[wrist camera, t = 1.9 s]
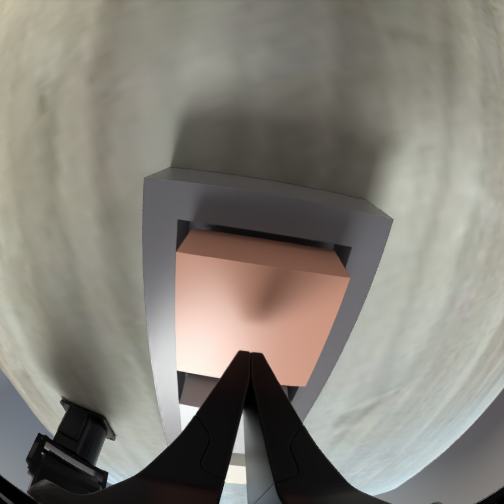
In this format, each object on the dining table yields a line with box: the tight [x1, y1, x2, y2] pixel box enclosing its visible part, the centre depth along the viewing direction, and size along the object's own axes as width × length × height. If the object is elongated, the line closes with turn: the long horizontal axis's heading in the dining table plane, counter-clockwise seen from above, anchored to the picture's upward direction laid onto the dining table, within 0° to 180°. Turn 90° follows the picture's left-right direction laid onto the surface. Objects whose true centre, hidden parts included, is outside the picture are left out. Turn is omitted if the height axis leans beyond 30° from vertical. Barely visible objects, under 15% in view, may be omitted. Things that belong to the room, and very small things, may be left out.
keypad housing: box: [142, 167, 394, 446], centre depth 17 cm, size 28×10×3 cm, turn 171°
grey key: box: [179, 372, 288, 454], centre depth 15 cm, size 6×6×2 cm
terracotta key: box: [175, 228, 350, 386], centre depth 11 cm, size 6×6×2 cm
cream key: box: [225, 453, 246, 484], centre depth 19 cm, size 6×6×2 cm
